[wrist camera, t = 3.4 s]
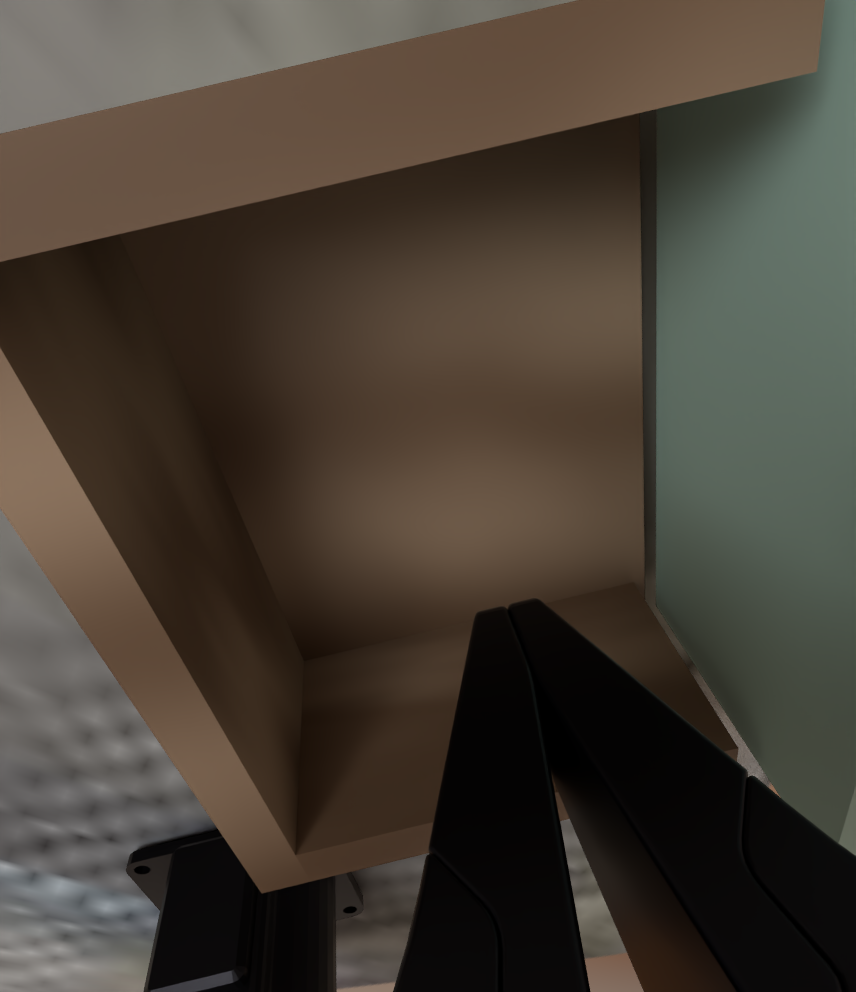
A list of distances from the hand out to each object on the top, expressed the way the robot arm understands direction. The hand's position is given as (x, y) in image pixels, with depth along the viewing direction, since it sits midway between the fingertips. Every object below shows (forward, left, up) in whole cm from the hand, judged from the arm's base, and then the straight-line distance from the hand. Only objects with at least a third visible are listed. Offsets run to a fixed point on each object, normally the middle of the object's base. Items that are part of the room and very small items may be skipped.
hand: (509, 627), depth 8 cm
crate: (0, +1, -7) cm, 7 cm away
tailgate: (0, -5, -6) cm, 8 cm away
